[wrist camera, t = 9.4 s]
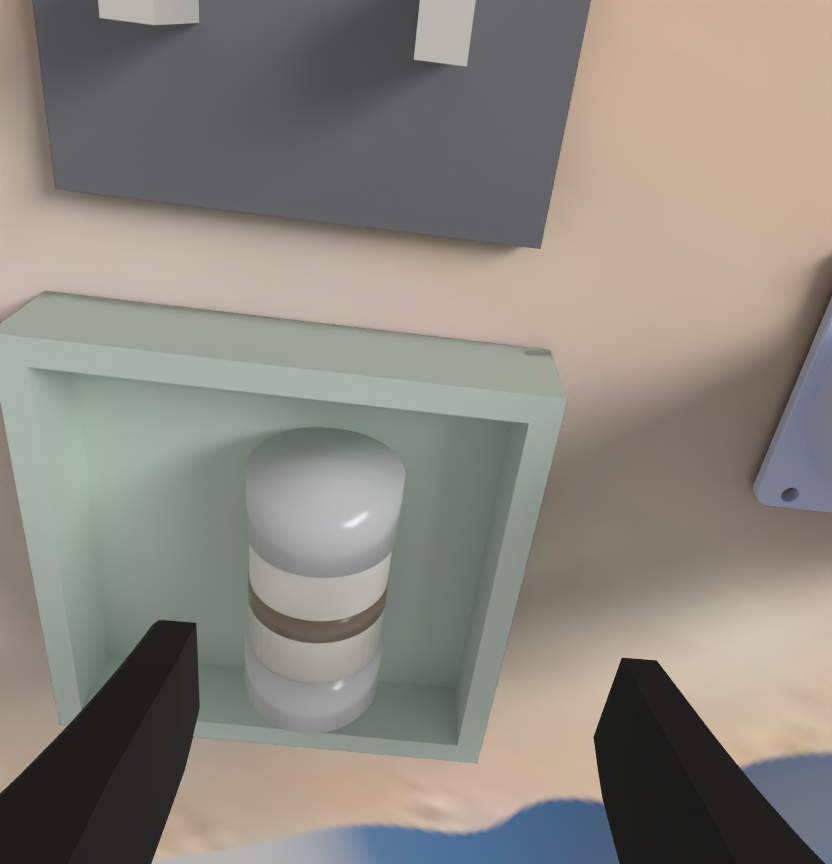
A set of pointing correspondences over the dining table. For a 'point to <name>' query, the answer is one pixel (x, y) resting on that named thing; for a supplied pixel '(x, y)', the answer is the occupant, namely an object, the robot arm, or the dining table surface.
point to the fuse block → (317, 107)
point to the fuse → (318, 574)
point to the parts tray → (226, 497)
